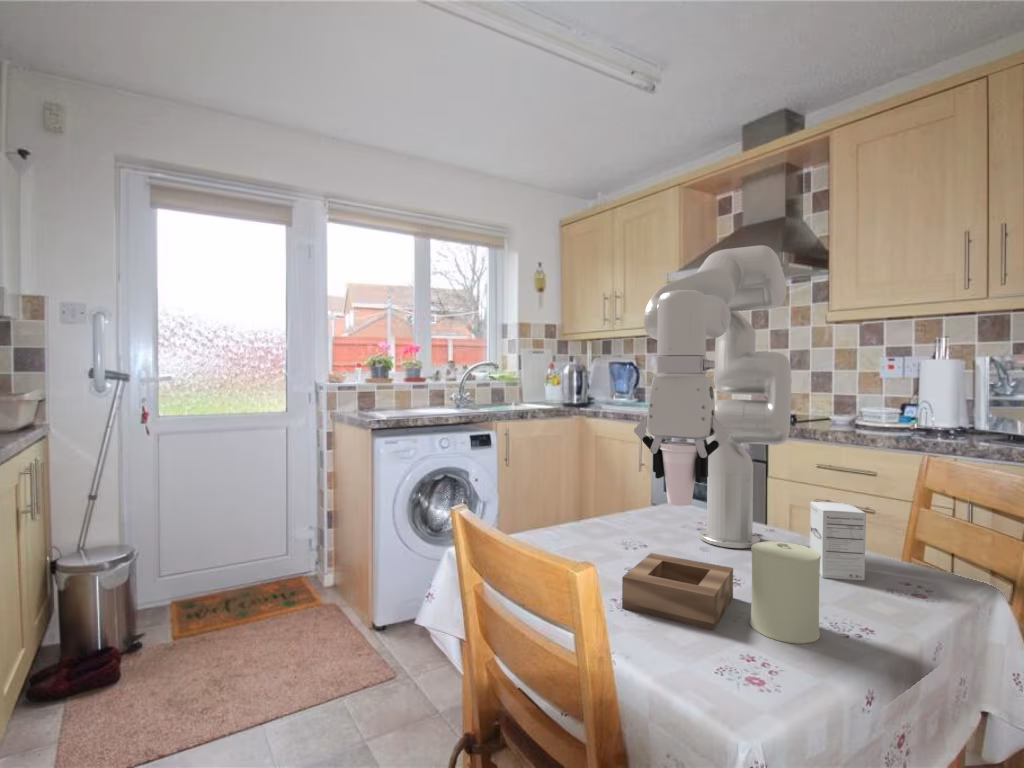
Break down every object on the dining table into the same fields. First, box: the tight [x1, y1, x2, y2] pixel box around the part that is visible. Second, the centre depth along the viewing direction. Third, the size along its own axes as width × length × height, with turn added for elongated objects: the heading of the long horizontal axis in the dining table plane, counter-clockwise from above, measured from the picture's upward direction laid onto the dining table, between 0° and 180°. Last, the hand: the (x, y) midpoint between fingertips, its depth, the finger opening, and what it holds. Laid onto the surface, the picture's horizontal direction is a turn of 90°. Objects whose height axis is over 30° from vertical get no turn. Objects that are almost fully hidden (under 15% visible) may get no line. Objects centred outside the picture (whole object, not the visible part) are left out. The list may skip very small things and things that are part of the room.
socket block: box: [621, 552, 734, 631], centre depth 90 cm, size 14×14×5 cm
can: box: [749, 540, 821, 645], centre depth 81 cm, size 9×9×12 cm
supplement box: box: [809, 501, 867, 582], centre depth 103 cm, size 7×7×13 cm
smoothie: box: [660, 438, 698, 507], centre depth 89 cm, size 6×6×14 cm
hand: (679, 478), depth 89 cm, fingers closed on smoothie, 5 cm apart
